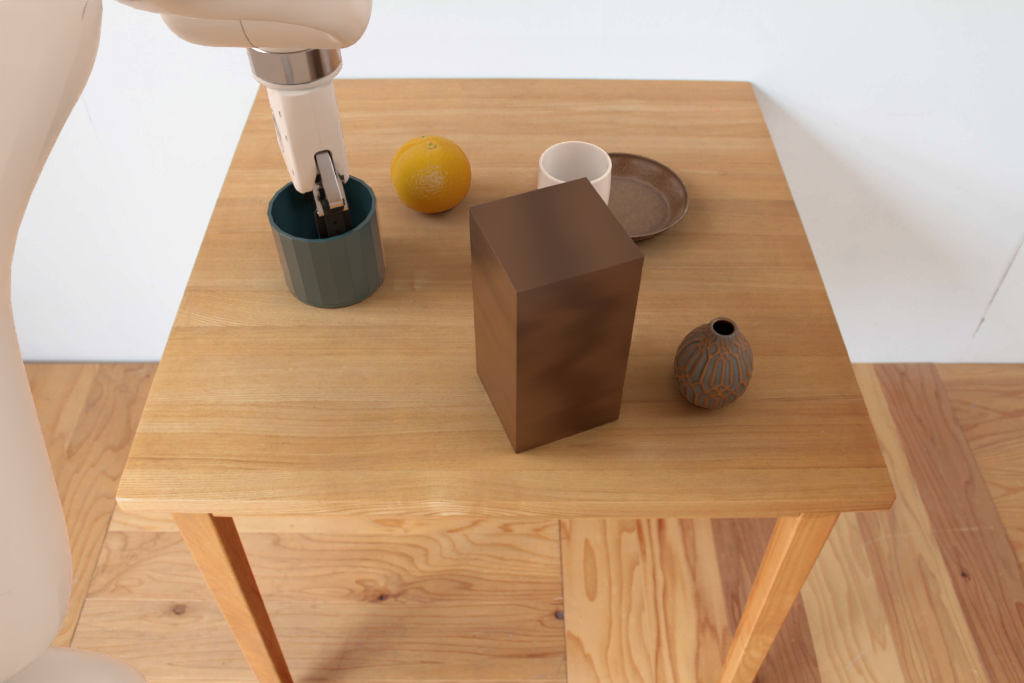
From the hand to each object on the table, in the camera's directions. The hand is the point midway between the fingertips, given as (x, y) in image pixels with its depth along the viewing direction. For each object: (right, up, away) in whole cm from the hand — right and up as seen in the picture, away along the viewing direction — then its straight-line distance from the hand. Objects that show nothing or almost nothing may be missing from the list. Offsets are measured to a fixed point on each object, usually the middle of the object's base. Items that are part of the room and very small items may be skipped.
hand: (328, 217), depth 84 cm
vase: (+36, -17, -5) cm, 40 cm away
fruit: (+9, +3, +13) cm, 16 cm away
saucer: (+30, +2, +12) cm, 33 cm away
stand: (+21, -17, -5) cm, 28 cm away
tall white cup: (+24, -6, +5) cm, 25 cm away
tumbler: (0, -5, +5) cm, 7 cm away
